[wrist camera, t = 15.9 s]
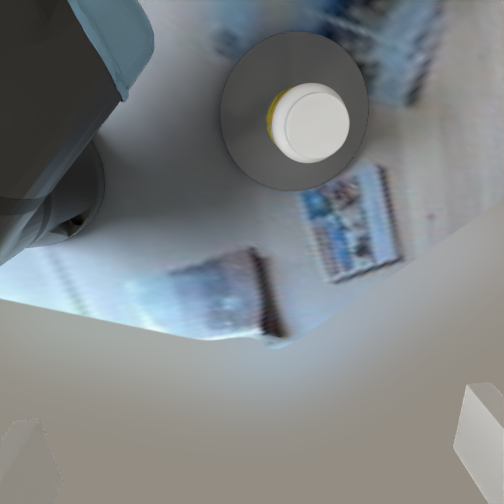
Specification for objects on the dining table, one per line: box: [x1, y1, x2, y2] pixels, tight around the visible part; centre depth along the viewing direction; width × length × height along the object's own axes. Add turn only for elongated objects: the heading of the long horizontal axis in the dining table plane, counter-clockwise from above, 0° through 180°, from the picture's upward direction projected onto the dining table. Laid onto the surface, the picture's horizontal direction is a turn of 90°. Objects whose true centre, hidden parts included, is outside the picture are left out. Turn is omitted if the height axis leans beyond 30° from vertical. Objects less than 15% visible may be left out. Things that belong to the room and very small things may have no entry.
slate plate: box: [220, 31, 369, 191], centre depth 37 cm, size 15×15×2 cm
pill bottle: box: [266, 83, 350, 163], centre depth 31 cm, size 6×6×11 cm
